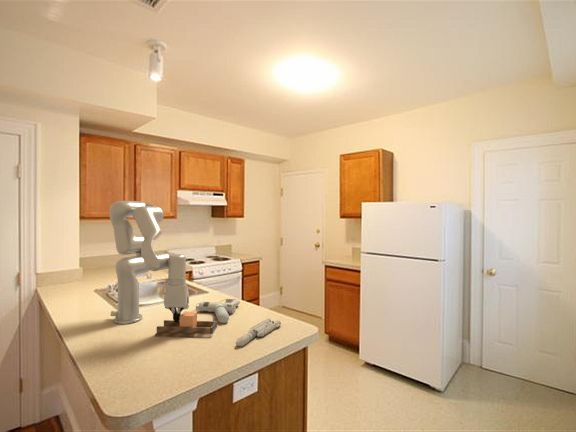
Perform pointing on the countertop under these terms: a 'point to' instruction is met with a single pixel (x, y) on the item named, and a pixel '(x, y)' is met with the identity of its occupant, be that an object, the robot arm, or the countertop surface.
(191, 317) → the block
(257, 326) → the rocket model
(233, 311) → the gun
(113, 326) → the countertop surface
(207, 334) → the chute
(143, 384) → the countertop surface
